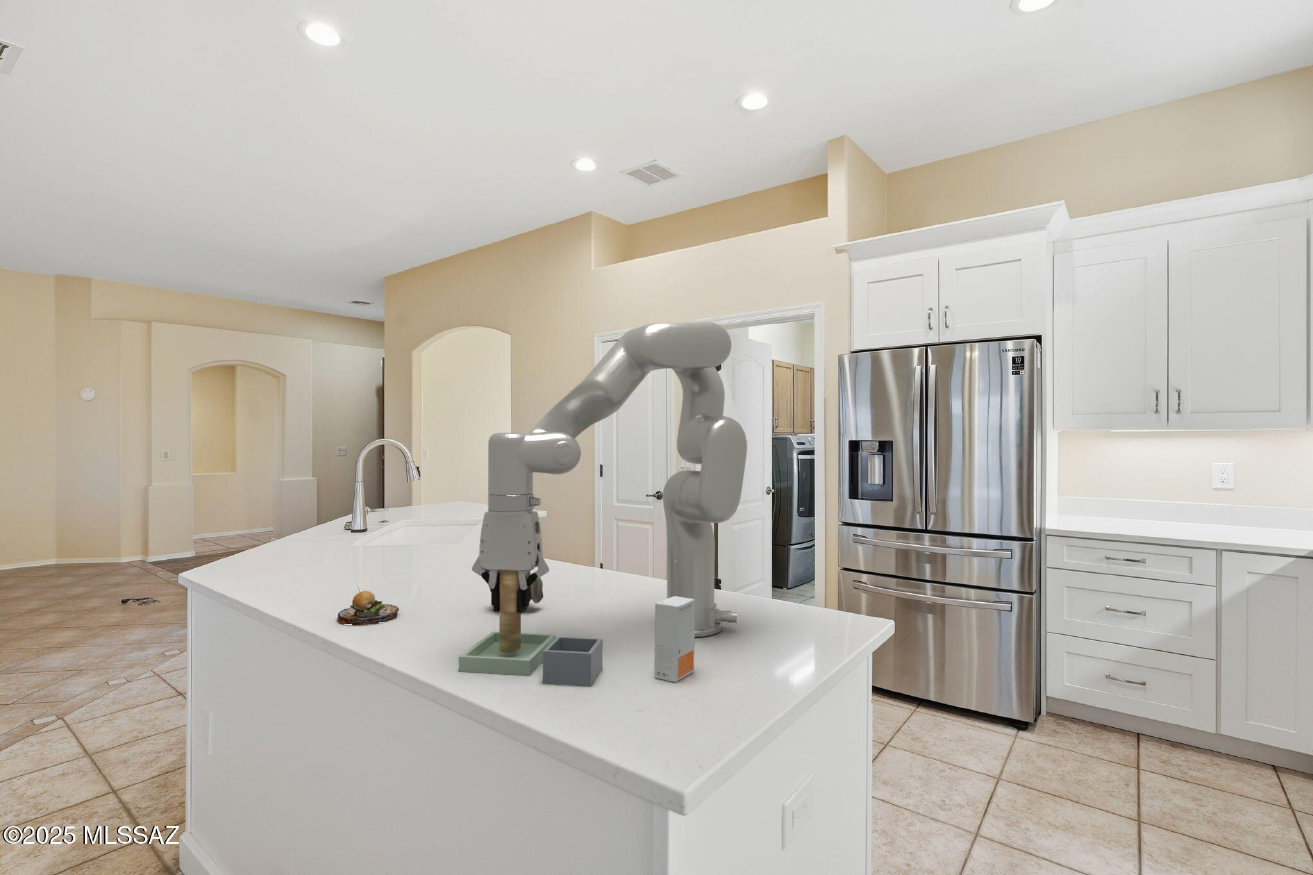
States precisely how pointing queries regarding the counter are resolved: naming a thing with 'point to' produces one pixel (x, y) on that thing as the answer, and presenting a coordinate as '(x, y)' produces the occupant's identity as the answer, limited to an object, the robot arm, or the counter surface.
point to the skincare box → (674, 638)
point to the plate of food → (367, 611)
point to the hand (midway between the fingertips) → (510, 609)
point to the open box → (572, 661)
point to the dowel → (509, 613)
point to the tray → (505, 655)
